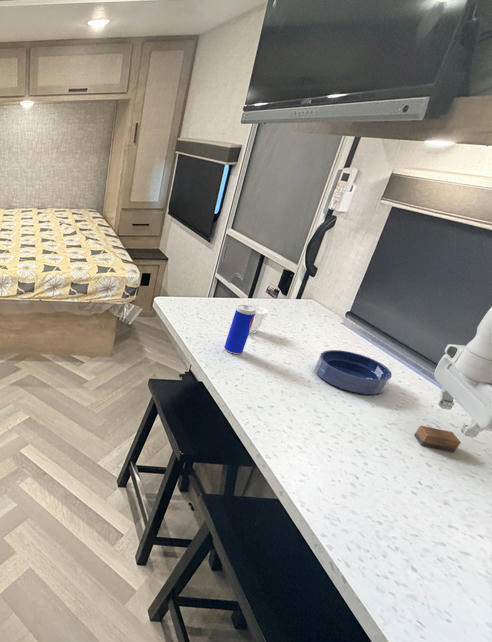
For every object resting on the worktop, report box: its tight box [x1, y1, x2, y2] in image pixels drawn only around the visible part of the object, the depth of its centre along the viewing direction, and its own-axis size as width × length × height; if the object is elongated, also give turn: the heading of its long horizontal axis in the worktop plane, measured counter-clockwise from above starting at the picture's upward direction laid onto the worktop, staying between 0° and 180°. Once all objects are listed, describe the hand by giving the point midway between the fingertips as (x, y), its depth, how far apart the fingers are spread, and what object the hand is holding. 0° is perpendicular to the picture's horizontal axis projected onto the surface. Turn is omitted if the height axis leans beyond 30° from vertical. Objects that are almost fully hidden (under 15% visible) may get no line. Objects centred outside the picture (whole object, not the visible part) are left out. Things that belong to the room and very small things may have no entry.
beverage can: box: [224, 304, 256, 355], centre depth 122 cm, size 5×5×15 cm
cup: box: [248, 304, 269, 334], centre depth 134 cm, size 7×10×8 cm
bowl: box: [314, 349, 393, 395], centre depth 110 cm, size 15×15×5 cm
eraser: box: [413, 425, 462, 453], centre depth 89 cm, size 6×4×3 cm, turn 66°
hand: (454, 420), depth 86 cm, fingers open, 8 cm apart
